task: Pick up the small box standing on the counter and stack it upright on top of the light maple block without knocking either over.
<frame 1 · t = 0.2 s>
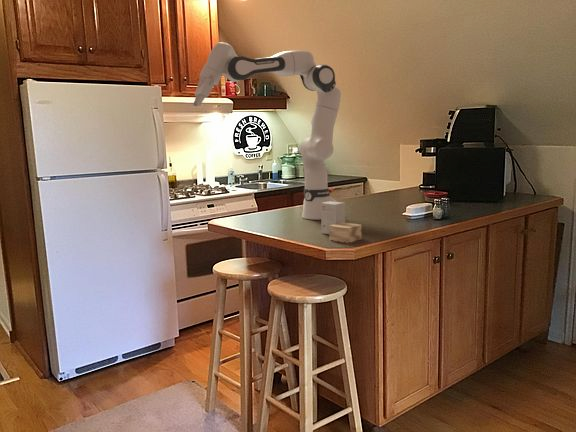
hand: (196, 105, 229), 54 cm above the table, tool tilted 30°, fingers open, 8 cm apart
small box: (333, 233, 218), on the table
maple block: (345, 240, 206), on the table
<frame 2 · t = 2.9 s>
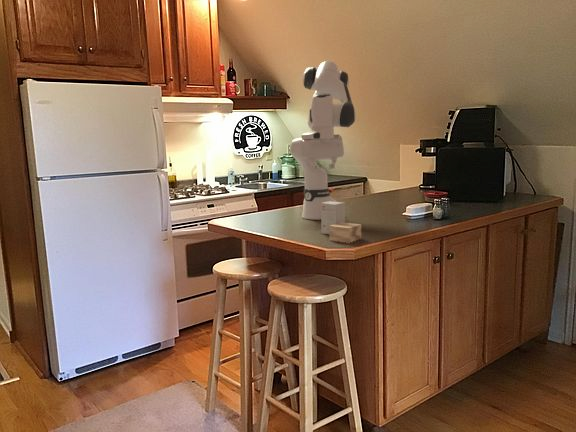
hand: (323, 169, 211), 27 cm above the table, tool pointing down, fingers open, 8 cm apart
nothing on the table moved.
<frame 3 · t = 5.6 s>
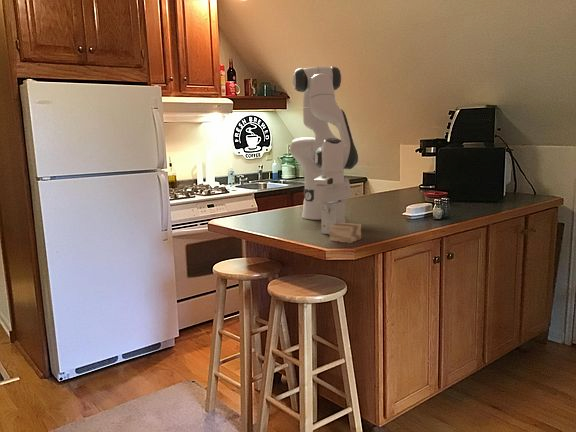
hand: (333, 211, 216), 9 cm above the table, tool pointing down, fingers closed on small box, 6 cm apart
small box: (333, 233, 218), on the table, touching gripper
everything else where it was.
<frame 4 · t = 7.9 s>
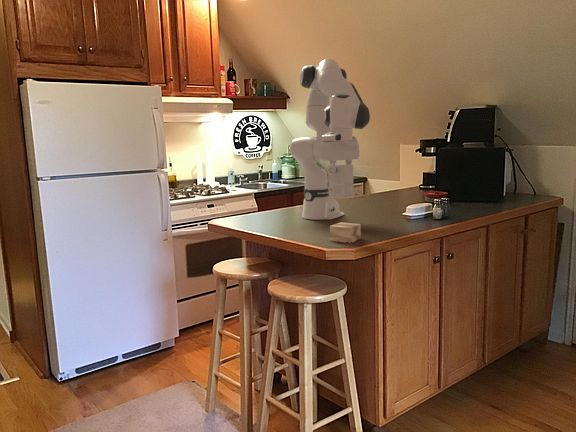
hand: (340, 171, 206), 26 cm above the table, tool pointing down, fingers closed on small box, 6 cm apart
small box: (341, 198, 207), point 16 cm above the table, touching gripper
everything else where it was.
when the fingers open (16 cm above the table, at t = 10.4 s): small box stays where it is, point 6 cm above the table.
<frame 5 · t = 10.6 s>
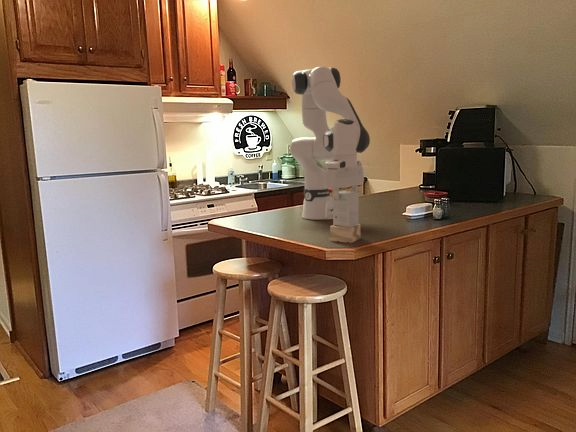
hand: (345, 197, 203), 17 cm above the table, tool pointing down, fingers open, 8 cm apart
small box: (345, 225, 205), point 6 cm above the table
everything else where it was.
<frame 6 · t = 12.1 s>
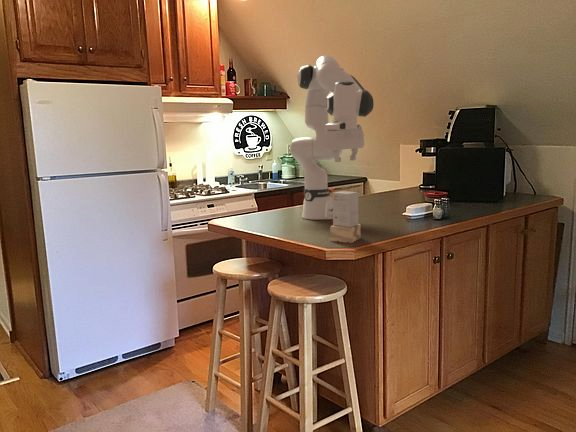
hand: (345, 161, 201), 31 cm above the table, tool pointing down, fingers open, 8 cm apart
small box: (345, 225, 205), point 6 cm above the table, touching maple block
maple block: (345, 240, 206), on the table, touching small box
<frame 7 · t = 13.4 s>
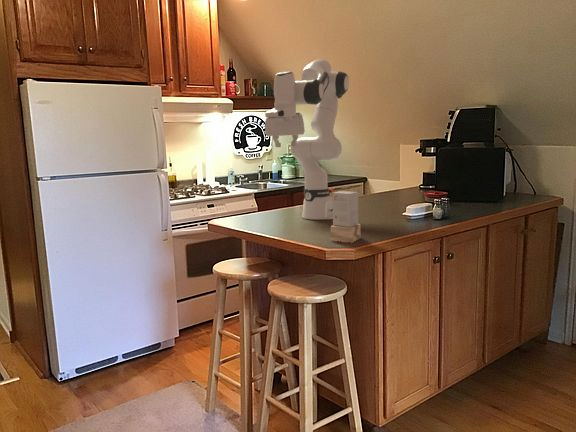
hand: (285, 146, 216), 36 cm above the table, tool pointing down, fingers open, 8 cm apart
nothing on the table moved.
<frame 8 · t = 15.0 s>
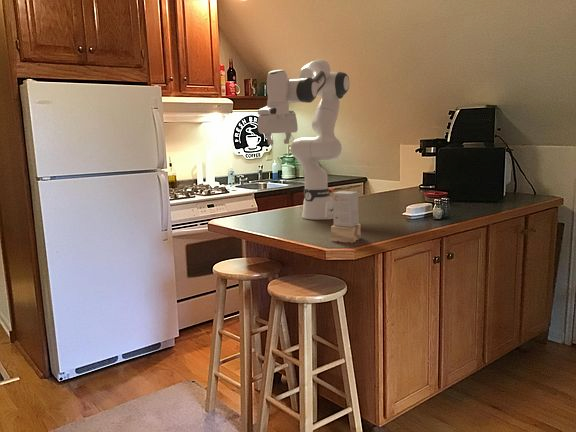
hand: (278, 144, 217), 37 cm above the table, tool pointing down, fingers open, 8 cm apart
nothing on the table moved.
at the end: small box inside the target area on the maple block (0.2 cm from its centre), point 5.8 cm above the maple block's base; small box tilted 1°; the gripper is holding nothing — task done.
